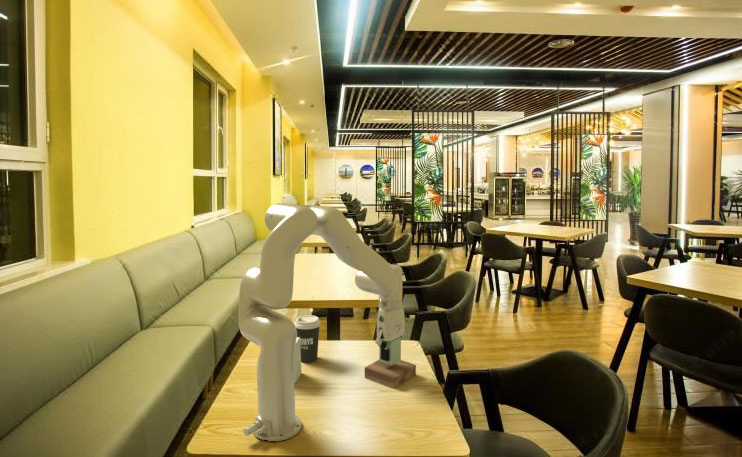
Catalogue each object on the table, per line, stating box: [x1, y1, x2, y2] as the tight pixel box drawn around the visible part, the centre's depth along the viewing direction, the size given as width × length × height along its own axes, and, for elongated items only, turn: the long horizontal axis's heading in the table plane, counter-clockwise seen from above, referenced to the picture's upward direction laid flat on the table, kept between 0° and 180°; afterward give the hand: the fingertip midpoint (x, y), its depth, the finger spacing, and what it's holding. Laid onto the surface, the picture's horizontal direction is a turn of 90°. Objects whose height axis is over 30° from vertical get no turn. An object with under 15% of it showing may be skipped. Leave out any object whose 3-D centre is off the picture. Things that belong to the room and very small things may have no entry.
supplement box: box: [294, 337, 302, 384], centre depth 155 cm, size 7×7×13 cm
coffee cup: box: [293, 314, 322, 364], centre depth 169 cm, size 10×10×15 cm
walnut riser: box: [364, 359, 417, 390], centre depth 157 cm, size 12×12×4 cm
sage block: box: [378, 337, 402, 365], centre depth 155 cm, size 5×5×8 cm
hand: (390, 356), depth 156 cm, fingers closed on sage block, 4 cm apart
